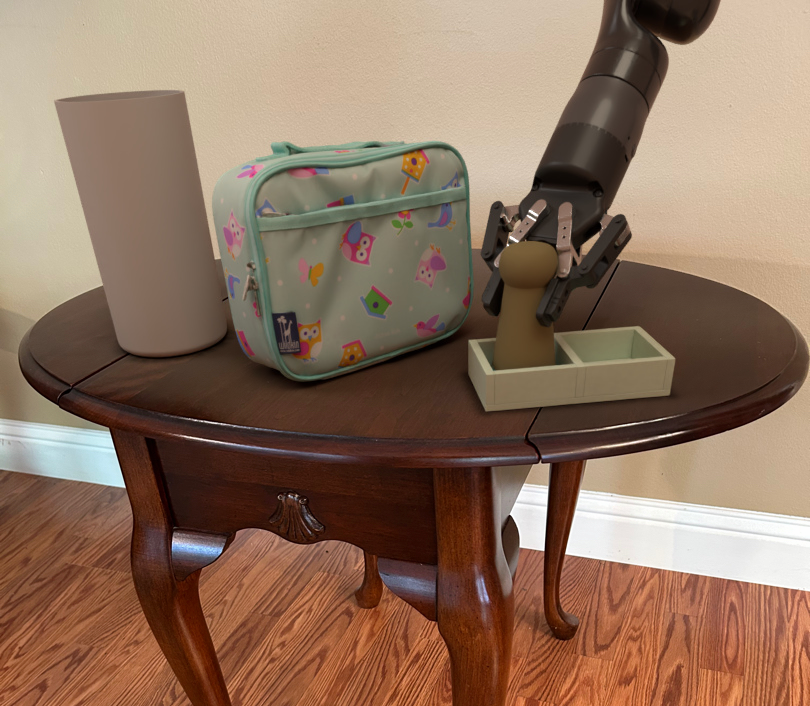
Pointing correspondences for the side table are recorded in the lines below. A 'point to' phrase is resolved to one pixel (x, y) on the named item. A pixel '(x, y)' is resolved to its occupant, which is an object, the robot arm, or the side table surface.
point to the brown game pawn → (524, 307)
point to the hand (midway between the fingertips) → (515, 316)
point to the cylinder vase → (146, 218)
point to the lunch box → (345, 253)
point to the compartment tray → (576, 371)
